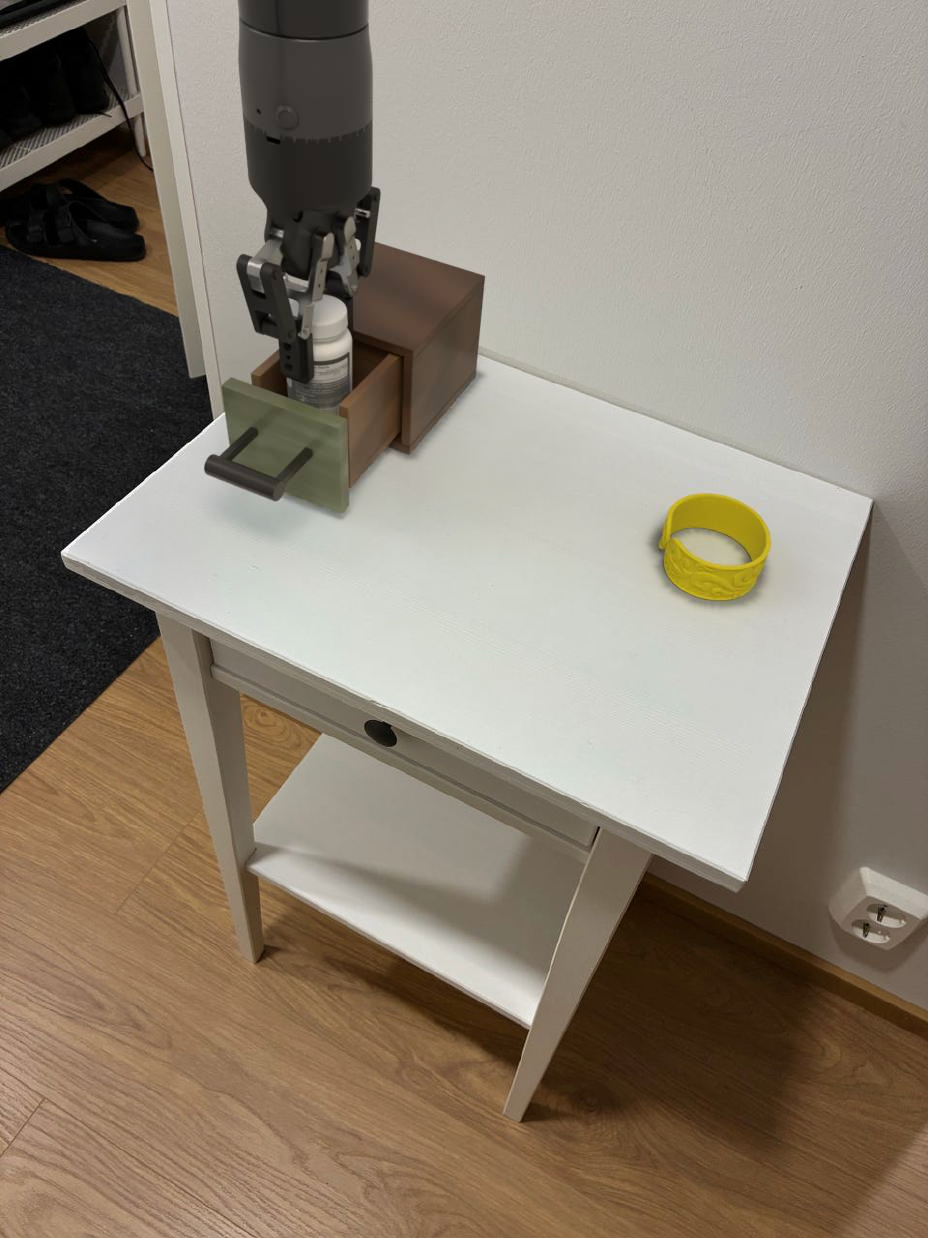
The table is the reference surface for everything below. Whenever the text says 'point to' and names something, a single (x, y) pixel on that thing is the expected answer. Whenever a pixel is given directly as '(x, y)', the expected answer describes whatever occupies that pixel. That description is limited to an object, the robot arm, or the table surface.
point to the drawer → (309, 431)
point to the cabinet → (421, 331)
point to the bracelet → (722, 518)
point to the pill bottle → (327, 358)
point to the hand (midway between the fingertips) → (318, 358)
